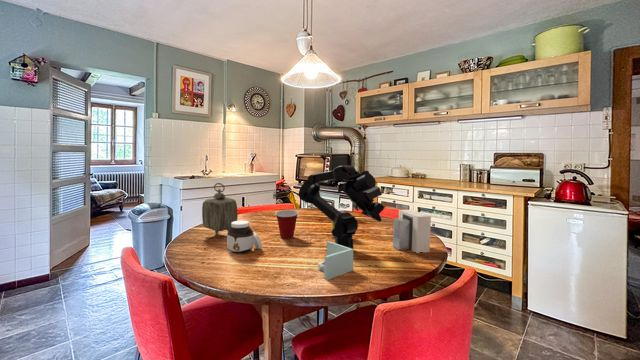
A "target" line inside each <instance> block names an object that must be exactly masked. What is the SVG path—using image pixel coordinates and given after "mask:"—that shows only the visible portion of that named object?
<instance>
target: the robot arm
mask: <svg viewBox="0 0 640 360" xmlns="http://www.w3.org/2000/svg"><path fill="white" fill-rule="evenodd" d="M329 181H346V182H343V183H342V182H340V183H339V184H338V185H337V192H338V193H341V192H343V193H344V194H345V195H346V196H347V197H348V198H349V199H350V202H351V203H352V208H353V209H354V210H355V211H357V212H358V211H359V210H360V211H361V214H362V215H364V216H366V217H369V218H370V219H373V220H375V221H377V222H381V221H383V219H382V218H381V215H380V214H381V213H382V212H383V211H384V209H385V208H386V207H385V205H384V204H383V203H382V202H378V201H375V199H376V198H378V197H380V196H382V195H383V193H382V190H381V188H380V186H378V185H377V186H376V184H377V181H376V178H375V177H374V176H373V175H372V173H370V172H369V170H363V171H362V172H361V173H360V172H359V171H358V170H356V169H355V167H354V166H353V165H339V166H337V167H333V170H332V169H331V170H329V171H324V172H319V173H312V174H310V175H309V176H308V177H307V179H306V180H305V181H304V182H303V183H302V184H301V186H300V188H299V191H298V198H299V199H300V200H301V201H303V202H304V203H306V204H307V203H308V204H310V205H313V206H314V207H315V208H316V209H317V210H319V211H320V212H321V213H322V214H324V216H326V217H328V219H329V220H330V221H331V222H332V221H333V223H334V227H335V228H334V229H333V230H332V229H331V237H332V236H334V237H333V238H334V243H336V244H339V245H342V246H345V247H348V248H351V249H353V253H354V251H355V250H354V239H353V236H355V234H356V232H357V231H358V228H359V223H358V219H356V215H352V213H350V212H349V211H347V212H346V211H344V213H341V212H339V211H338V210H337V209H338V208H335V206H333V205H332V204H331V203H330V202H328V201H327V200H325V198H323V197H322V195H321V193H320V190H321V183H324V182H329ZM313 184H314V185H313Z"/></svg>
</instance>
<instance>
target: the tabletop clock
mask: <svg viewBox="0 0 640 360" xmlns="http://www.w3.org/2000/svg"><path fill="white" fill-rule="evenodd" d="M218 185H220V186H222V188H223V189H222V190H221V189H220V188H218V189H216V186H218ZM213 189H214V191H216V193H215V194H214V195H213V198H209V199H208V198H207V199H205V200H204V201H203V202H202V207H201V208H202V209H201V210H202V211H201V218H202V225H203V227H204V228H206V229H209V230H212V231H214V233H215V234H214V236H213V237H214V238H215V239H217V238H218V237H219V235H218V233H219V232H223V231H227V232H228V231H229V229H230V228H231V223H232V222H234V221H238V216H239V214H238V204H237V202H236V199H233V198H231V197H226V195H225V194H224V193H223V192H224V191H225V185H224V184H223V183H222V182H216V183H215V184H214V185H213Z"/></svg>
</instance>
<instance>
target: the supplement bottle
mask: <svg viewBox="0 0 640 360" xmlns="http://www.w3.org/2000/svg"><path fill="white" fill-rule="evenodd" d="M336 209H337V210H338V211H339V212H341V213H345V209H343V208H336ZM334 228H335V227H334V223H333V221H332V220H331V231H332V230H333V229H334ZM331 237H332V238H335V237H334V236H332V235H331Z"/></svg>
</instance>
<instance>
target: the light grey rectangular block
mask: <svg viewBox="0 0 640 360" xmlns="http://www.w3.org/2000/svg"><path fill="white" fill-rule="evenodd" d="M392 228H393V232H392V247H393V248H395V249H397V250H398V251H404V250H410V246H411V219H409V218H399V217H397V218H393V227H392Z"/></svg>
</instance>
